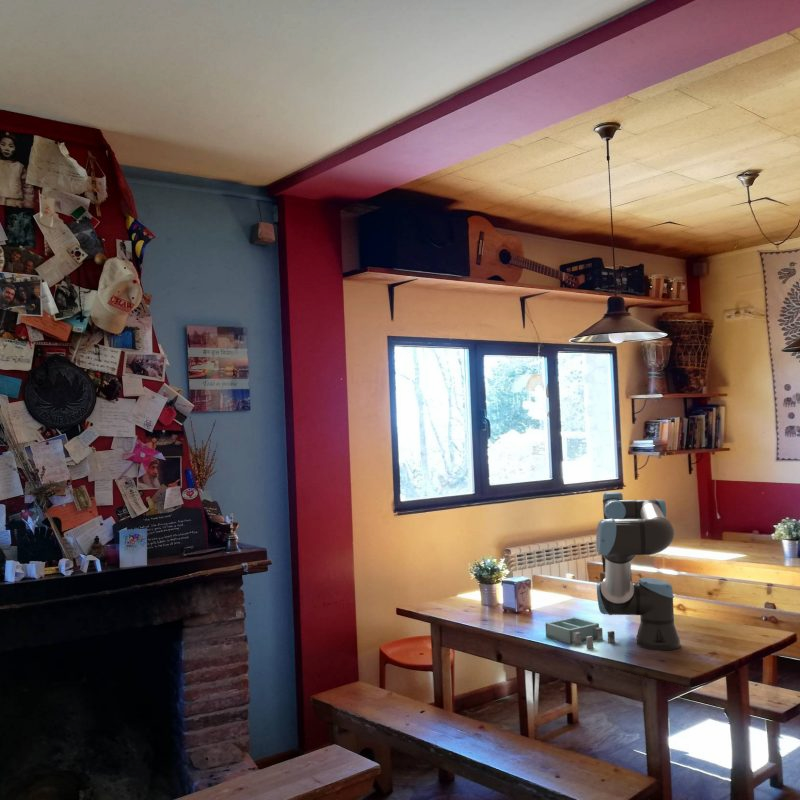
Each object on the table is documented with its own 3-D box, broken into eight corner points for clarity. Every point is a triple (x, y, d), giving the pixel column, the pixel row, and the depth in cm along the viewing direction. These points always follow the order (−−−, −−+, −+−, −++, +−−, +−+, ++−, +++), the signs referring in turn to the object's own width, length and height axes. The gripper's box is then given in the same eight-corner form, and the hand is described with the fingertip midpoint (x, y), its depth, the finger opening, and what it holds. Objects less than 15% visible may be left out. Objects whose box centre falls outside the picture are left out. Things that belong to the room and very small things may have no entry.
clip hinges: (614, 642, 291) (614, 631, 291) (588, 648, 284) (588, 637, 284) (597, 637, 298) (597, 626, 298) (571, 643, 291) (571, 632, 291)
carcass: (599, 637, 298) (598, 623, 299) (570, 643, 290) (569, 630, 291) (574, 629, 309) (574, 617, 310) (545, 636, 301) (545, 623, 302)
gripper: (637, 533, 302) (639, 595, 301) (605, 529, 316) (607, 588, 315) (623, 535, 298) (625, 598, 297) (591, 531, 312) (594, 591, 311)
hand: (616, 593), depth 306 cm, fingers closed on door, 3 cm apart
